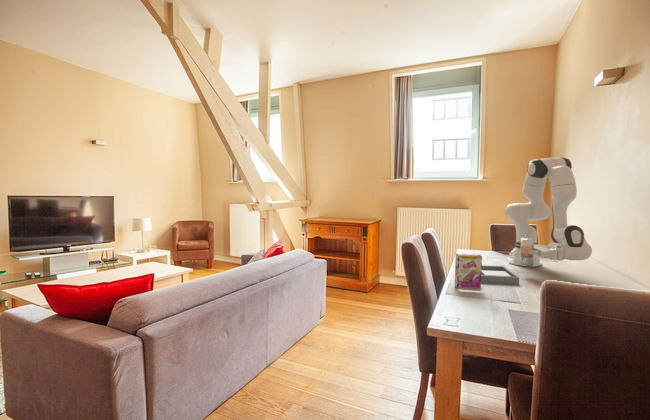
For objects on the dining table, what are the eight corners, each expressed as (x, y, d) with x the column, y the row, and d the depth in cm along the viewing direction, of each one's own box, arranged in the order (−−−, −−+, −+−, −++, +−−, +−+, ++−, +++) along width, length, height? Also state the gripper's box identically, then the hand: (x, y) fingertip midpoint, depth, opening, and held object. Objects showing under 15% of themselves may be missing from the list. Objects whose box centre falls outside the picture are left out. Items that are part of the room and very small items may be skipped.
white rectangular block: (480, 276, 178) (480, 270, 178) (504, 277, 175) (504, 271, 175) (485, 281, 168) (485, 274, 168) (510, 283, 166) (511, 276, 165)
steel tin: (518, 263, 181) (518, 237, 180) (530, 263, 180) (531, 238, 179) (522, 265, 175) (523, 239, 174) (535, 266, 174) (536, 239, 173)
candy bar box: (457, 289, 160) (458, 255, 159) (454, 285, 165) (455, 253, 164) (481, 289, 159) (482, 255, 158) (477, 286, 164) (478, 253, 163)
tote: (469, 272, 190) (469, 264, 190) (503, 274, 187) (503, 266, 186) (479, 284, 167) (479, 275, 167) (518, 286, 163) (519, 277, 163)
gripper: (545, 241, 184) (518, 241, 187) (563, 249, 164) (532, 248, 167) (545, 253, 185) (517, 252, 188) (563, 261, 165) (532, 260, 168)
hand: (525, 250), depth 177 cm, fingers closed on steel tin, 6 cm apart
